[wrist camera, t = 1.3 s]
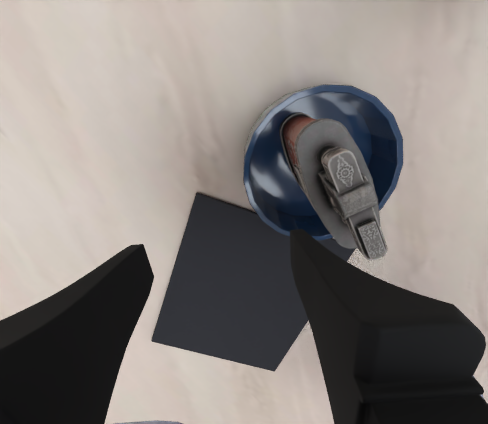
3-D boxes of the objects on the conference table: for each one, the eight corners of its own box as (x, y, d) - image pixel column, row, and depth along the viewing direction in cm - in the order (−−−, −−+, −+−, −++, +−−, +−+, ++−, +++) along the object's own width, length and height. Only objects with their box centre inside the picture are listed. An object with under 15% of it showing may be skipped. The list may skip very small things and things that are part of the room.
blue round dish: (401, 119, 19) (438, 123, 16) (334, 232, 23) (350, 256, 20) (274, 64, 18) (282, 54, 14) (227, 195, 22) (223, 214, 18)
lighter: (269, 126, 19) (291, 149, 10) (309, 103, 18) (372, 106, 9) (308, 209, 22) (353, 285, 13) (345, 192, 21) (418, 260, 12)
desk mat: (354, 245, 24) (356, 247, 24) (274, 368, 32) (274, 371, 31) (197, 192, 22) (196, 193, 21) (152, 338, 30) (151, 341, 29)
